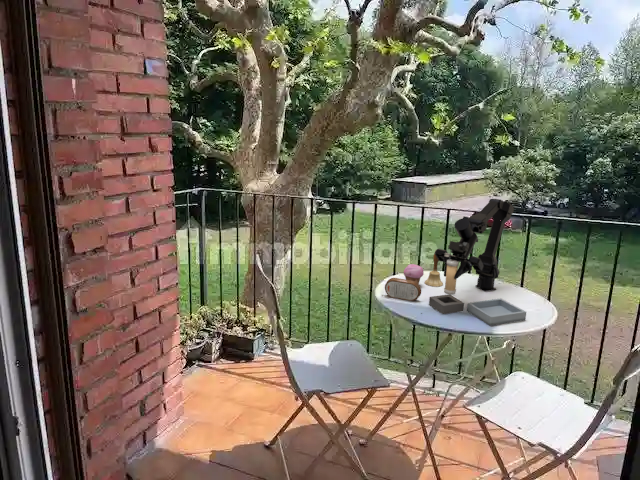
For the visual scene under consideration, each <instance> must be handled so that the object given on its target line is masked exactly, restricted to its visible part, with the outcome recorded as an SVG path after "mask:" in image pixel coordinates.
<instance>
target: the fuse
mask: <svg viewBox="0 0 640 480" xmlns="http://www.w3.org/2000/svg"><path fill="white" fill-rule="evenodd" d="M459 263H460V262H459V261H458V260H455V259H448V260H447V271H446V277H445V284H444V288H443V293H444V294H445V295H448V294H450V295H452V296H454V295H455V294H456V292H457V279H454V276H455V274H456V272H457V270H458V269H459Z"/></svg>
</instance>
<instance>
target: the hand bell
mask: <svg viewBox="0 0 640 480" xmlns="http://www.w3.org/2000/svg"><path fill="white" fill-rule="evenodd" d="M432 259H433V269H432V270H431V271H429V275H428V278H426V280H424V284H425V285H426V286H429V287H436V288H438V287H442V286H444V283H443V281H442V280H441V273H440V271H438V263H439V260H438V259H437V257H436V255H435V254H434V253H433V258H432Z"/></svg>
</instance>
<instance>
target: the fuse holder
mask: <svg viewBox="0 0 640 480" xmlns="http://www.w3.org/2000/svg"><path fill="white" fill-rule="evenodd" d="M428 305H429V306H430V307H432V308H433V309H434V310H436V311H437V312H439V313H440V314H442V315H446V314H447V315H448V314H455V313H460V312H465V302H464V301H462V300H460V299H459V298H457V297H455V296H454V295H450V294H442V295H441V294H440V295H433V296H429V300H428Z"/></svg>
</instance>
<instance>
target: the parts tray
mask: <svg viewBox="0 0 640 480" xmlns="http://www.w3.org/2000/svg"><path fill="white" fill-rule="evenodd" d="M466 313H469V314H470V315H472V316H473V317H475V318H477V319H479V321H482V322H483V323H484V324H486V325H488V326H490V327H492V326H493V327H494V326H497V325H507V324H511V323H519V322H525V321H526V318H527V311H526V310H524V309H522V308H520V307H518V306H517V305H514V304H512V303H510V302H508V301H506V300H505V299H503V298H494V299H493V298H492V299H486V300H477V301H470V302H467V304H466Z"/></svg>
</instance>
